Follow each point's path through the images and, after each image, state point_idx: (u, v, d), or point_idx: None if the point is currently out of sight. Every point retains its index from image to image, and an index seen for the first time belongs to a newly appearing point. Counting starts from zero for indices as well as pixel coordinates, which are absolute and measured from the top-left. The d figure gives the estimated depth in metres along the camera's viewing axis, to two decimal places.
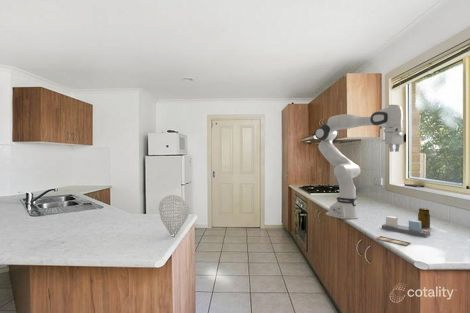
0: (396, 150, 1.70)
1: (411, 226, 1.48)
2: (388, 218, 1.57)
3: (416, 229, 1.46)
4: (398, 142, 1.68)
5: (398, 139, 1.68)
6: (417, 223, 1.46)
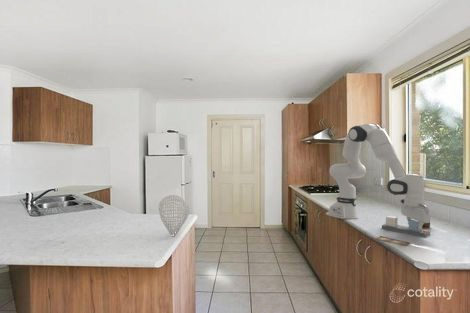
0: None
1: (411, 226, 1.48)
2: (388, 218, 1.57)
3: (416, 229, 1.46)
4: (413, 217, 1.47)
5: (414, 214, 1.47)
6: (417, 223, 1.46)
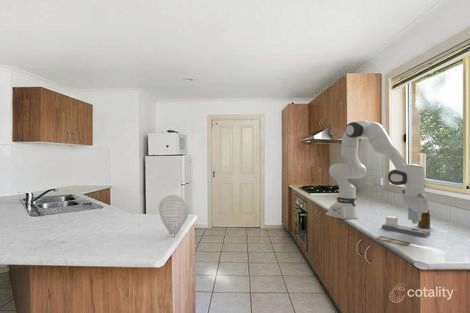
0: None
1: (411, 216, 1.48)
2: (388, 218, 1.57)
3: (415, 219, 1.47)
4: (413, 207, 1.47)
5: (413, 204, 1.47)
6: (416, 213, 1.46)
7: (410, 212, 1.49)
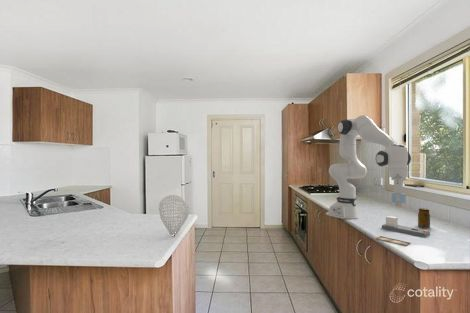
0: None
1: (393, 198, 1.41)
2: (388, 218, 1.57)
3: (397, 201, 1.39)
4: None
5: None
6: None
7: (393, 194, 1.42)
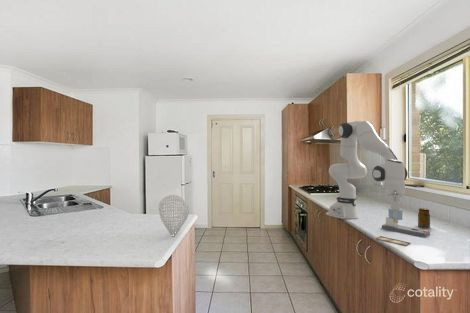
0: None
1: (390, 214, 1.40)
2: (388, 218, 1.57)
3: (393, 218, 1.38)
4: None
5: None
6: None
7: (390, 210, 1.41)
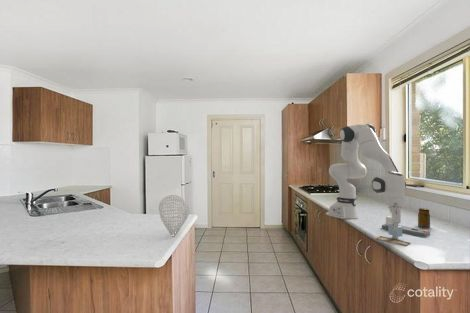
0: None
1: (390, 230, 1.40)
2: (388, 218, 1.57)
3: (394, 234, 1.38)
4: (391, 217, 1.39)
5: (391, 213, 1.39)
6: None
7: (390, 226, 1.41)
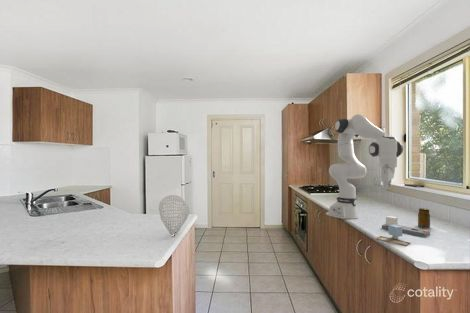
0: None
1: (390, 230, 1.41)
2: (388, 218, 1.57)
3: (394, 234, 1.38)
4: None
5: None
6: (394, 228, 1.38)
7: (390, 226, 1.41)
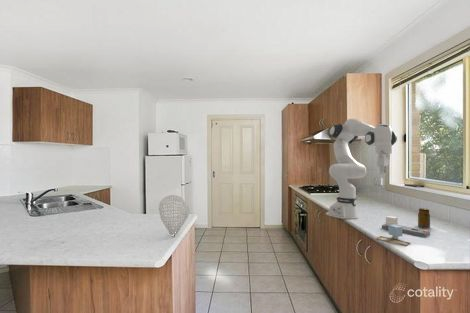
0: None
1: (390, 230, 1.41)
2: (388, 218, 1.57)
3: (394, 234, 1.38)
4: None
5: None
6: (394, 228, 1.38)
7: (390, 226, 1.41)
